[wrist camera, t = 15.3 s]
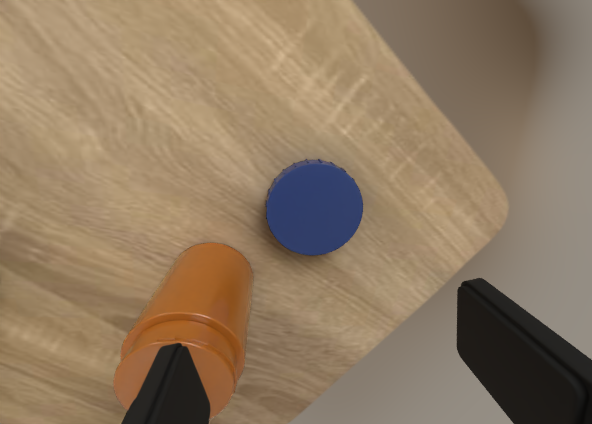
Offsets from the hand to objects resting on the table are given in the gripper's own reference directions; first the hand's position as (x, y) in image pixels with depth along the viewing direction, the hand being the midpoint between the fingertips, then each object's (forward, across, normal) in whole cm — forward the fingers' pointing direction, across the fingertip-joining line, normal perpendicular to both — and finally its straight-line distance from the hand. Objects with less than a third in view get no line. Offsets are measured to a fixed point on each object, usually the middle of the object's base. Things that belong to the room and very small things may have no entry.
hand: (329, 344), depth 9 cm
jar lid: (+11, -1, -1) cm, 11 cm away
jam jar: (+13, +7, +4) cm, 15 cm away
